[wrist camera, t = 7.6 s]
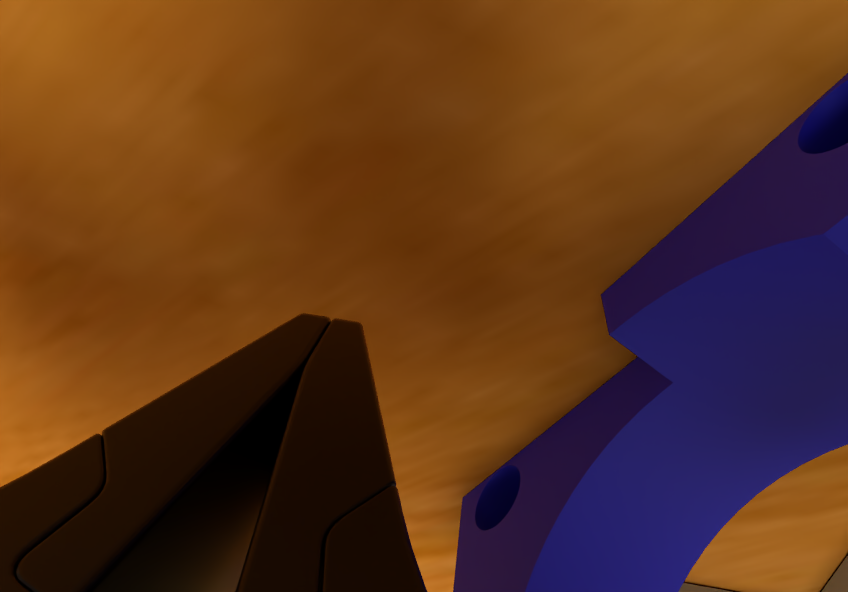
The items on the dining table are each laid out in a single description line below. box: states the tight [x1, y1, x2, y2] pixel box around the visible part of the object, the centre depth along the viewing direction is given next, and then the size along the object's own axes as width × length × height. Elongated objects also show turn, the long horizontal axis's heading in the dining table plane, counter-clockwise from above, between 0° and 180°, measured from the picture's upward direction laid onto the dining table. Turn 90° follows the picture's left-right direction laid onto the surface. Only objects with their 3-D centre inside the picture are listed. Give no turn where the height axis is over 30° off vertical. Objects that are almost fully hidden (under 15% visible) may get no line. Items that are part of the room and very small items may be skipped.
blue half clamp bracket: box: [453, 73, 848, 592], centre depth 10 cm, size 12×4×6 cm, turn 144°
